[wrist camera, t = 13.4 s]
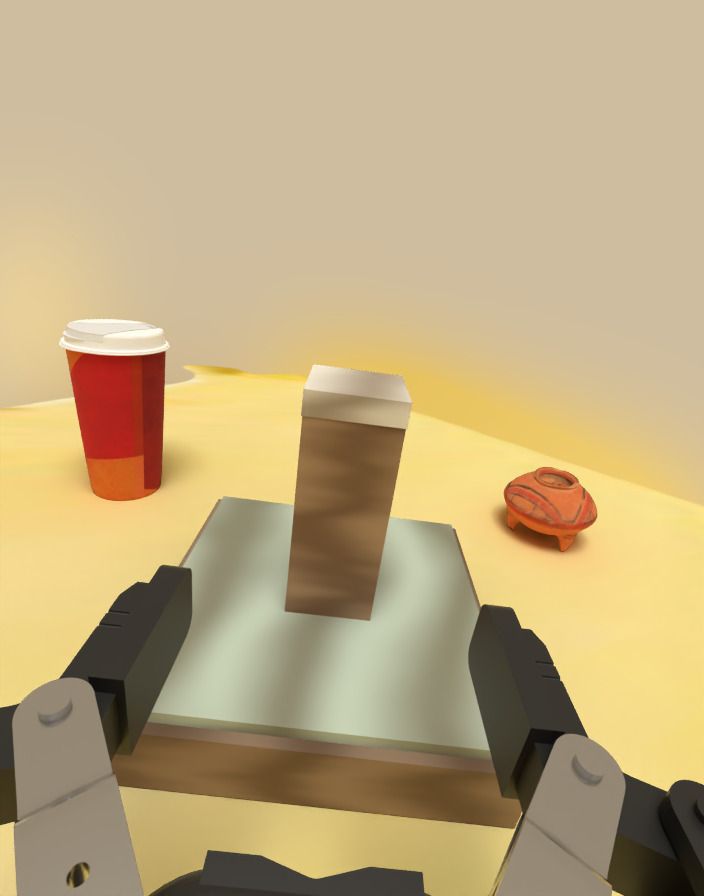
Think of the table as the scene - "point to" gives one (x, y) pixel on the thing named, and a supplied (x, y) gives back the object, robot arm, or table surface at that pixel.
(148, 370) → the paper cup
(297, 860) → the table surface
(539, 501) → the pot
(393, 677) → the block
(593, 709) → the table surface
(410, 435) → the table surface
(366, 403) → the block
